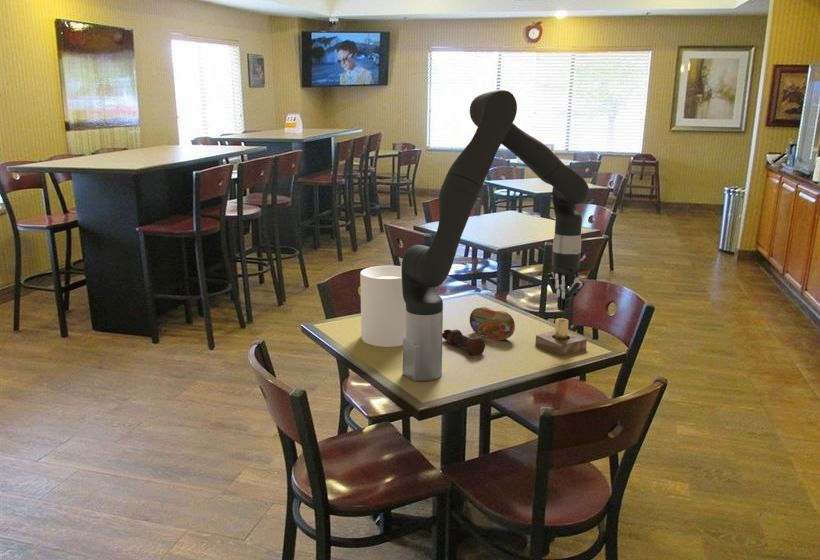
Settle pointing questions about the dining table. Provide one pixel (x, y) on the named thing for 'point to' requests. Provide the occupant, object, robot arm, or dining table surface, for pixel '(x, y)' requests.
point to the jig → (561, 343)
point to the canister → (382, 306)
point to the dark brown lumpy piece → (465, 342)
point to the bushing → (561, 329)
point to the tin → (492, 323)
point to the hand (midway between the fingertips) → (562, 310)
